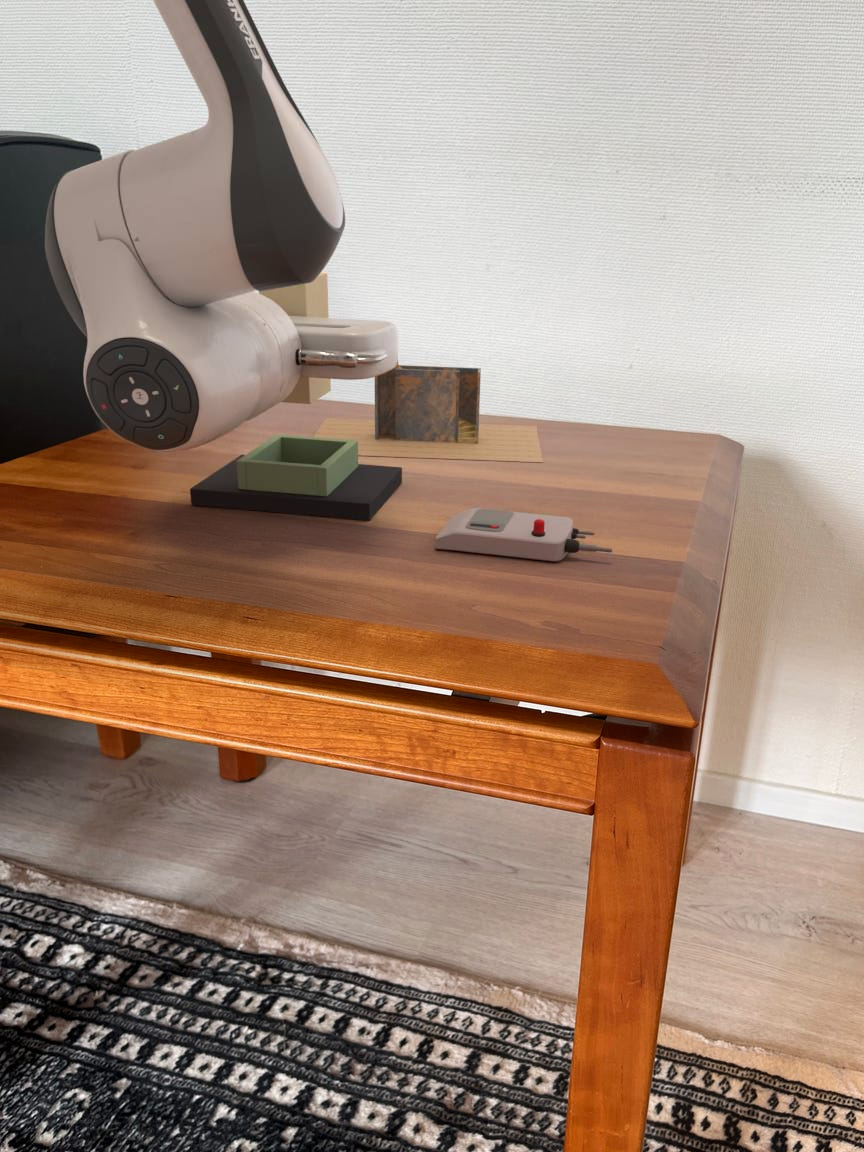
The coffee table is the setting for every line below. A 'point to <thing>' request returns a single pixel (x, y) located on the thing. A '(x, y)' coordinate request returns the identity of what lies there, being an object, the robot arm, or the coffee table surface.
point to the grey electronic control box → (513, 535)
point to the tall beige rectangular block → (306, 304)
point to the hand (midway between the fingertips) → (298, 329)
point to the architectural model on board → (433, 420)
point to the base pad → (300, 480)
